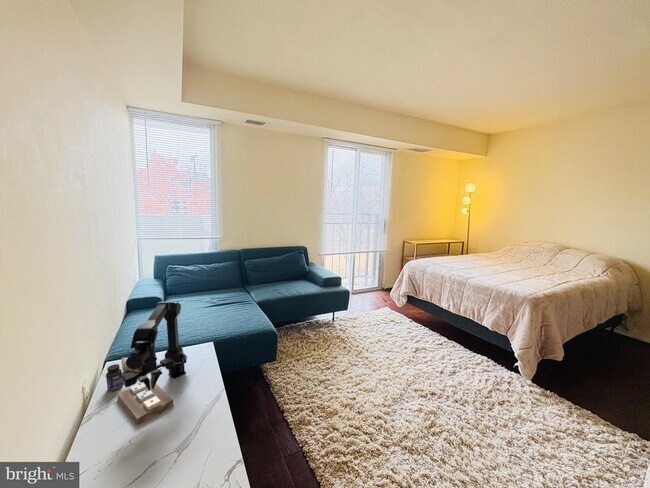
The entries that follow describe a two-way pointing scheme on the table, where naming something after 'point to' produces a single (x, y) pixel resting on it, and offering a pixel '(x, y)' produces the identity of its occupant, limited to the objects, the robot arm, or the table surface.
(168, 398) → the board
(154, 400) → the one pip button
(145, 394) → the three pip button
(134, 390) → the two pip button
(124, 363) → the ceramic sculpture
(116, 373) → the pill bottle
